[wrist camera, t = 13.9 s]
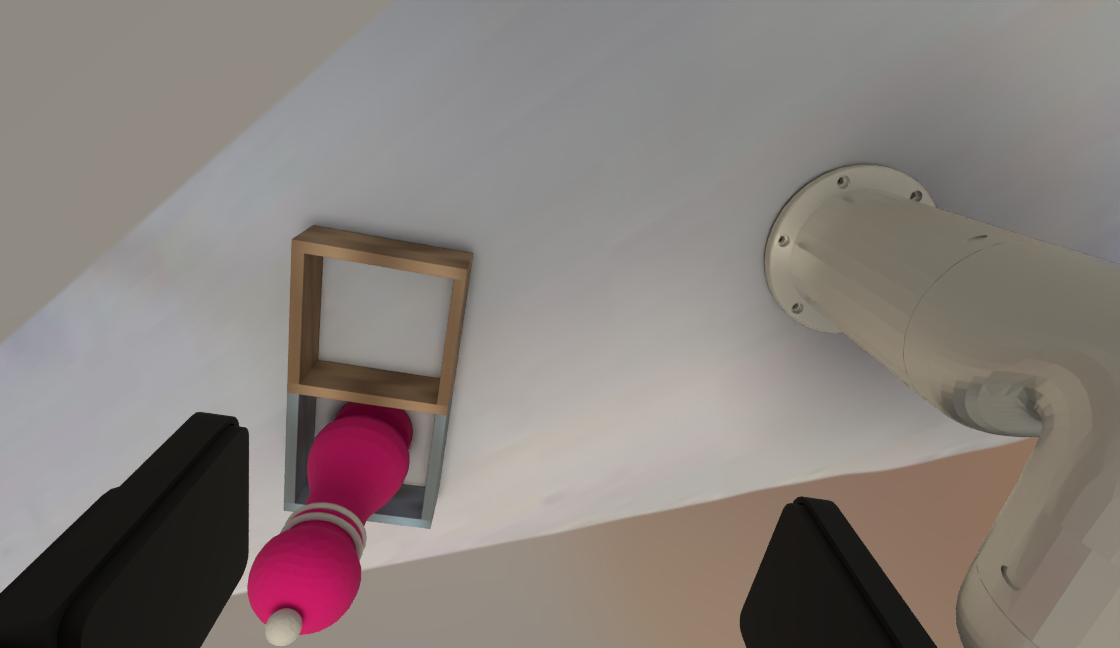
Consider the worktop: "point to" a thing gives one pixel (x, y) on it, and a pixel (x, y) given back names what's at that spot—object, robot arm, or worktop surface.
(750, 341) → the worktop surface
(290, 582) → the pepper mill
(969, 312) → the robot arm
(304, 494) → the organizer
